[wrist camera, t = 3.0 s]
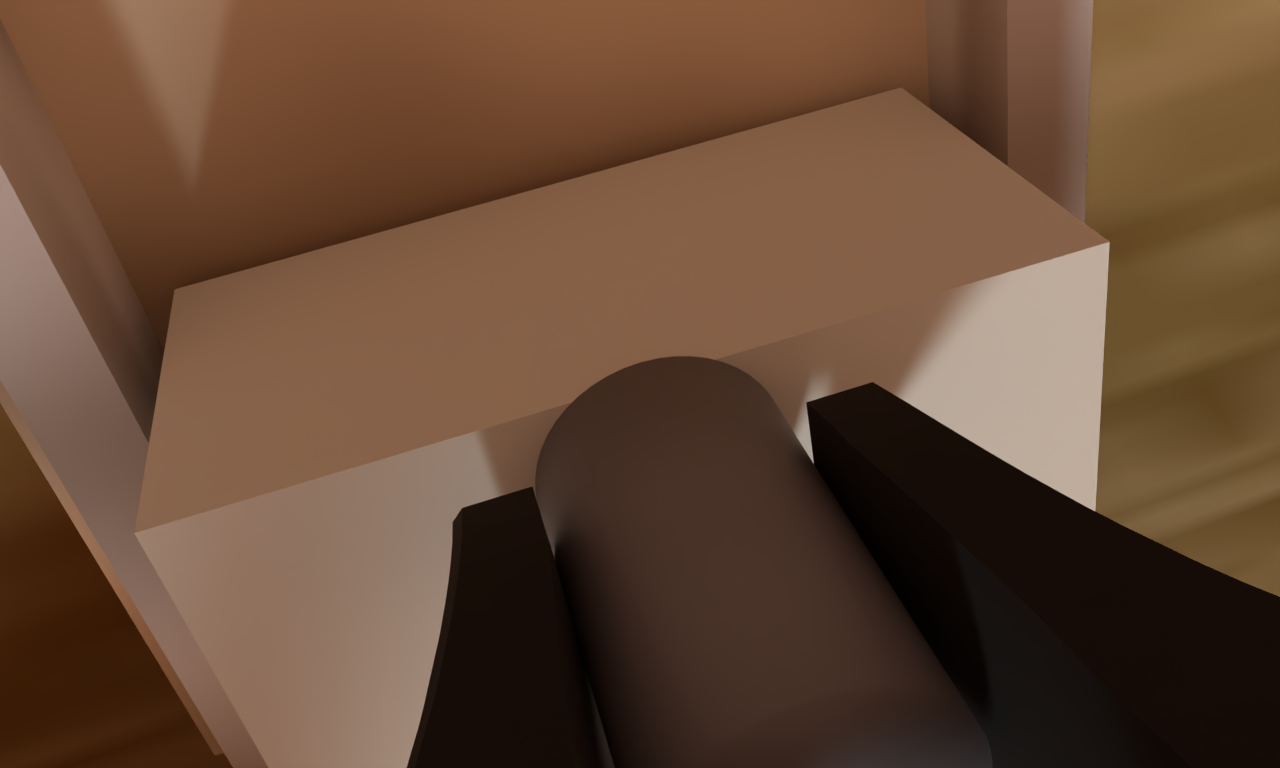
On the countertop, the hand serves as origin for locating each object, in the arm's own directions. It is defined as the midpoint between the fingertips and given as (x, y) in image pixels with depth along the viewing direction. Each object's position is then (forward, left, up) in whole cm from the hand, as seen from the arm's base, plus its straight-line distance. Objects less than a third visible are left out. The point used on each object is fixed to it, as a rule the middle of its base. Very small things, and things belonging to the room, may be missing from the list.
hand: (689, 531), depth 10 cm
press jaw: (-2, 0, -6) cm, 6 cm away
